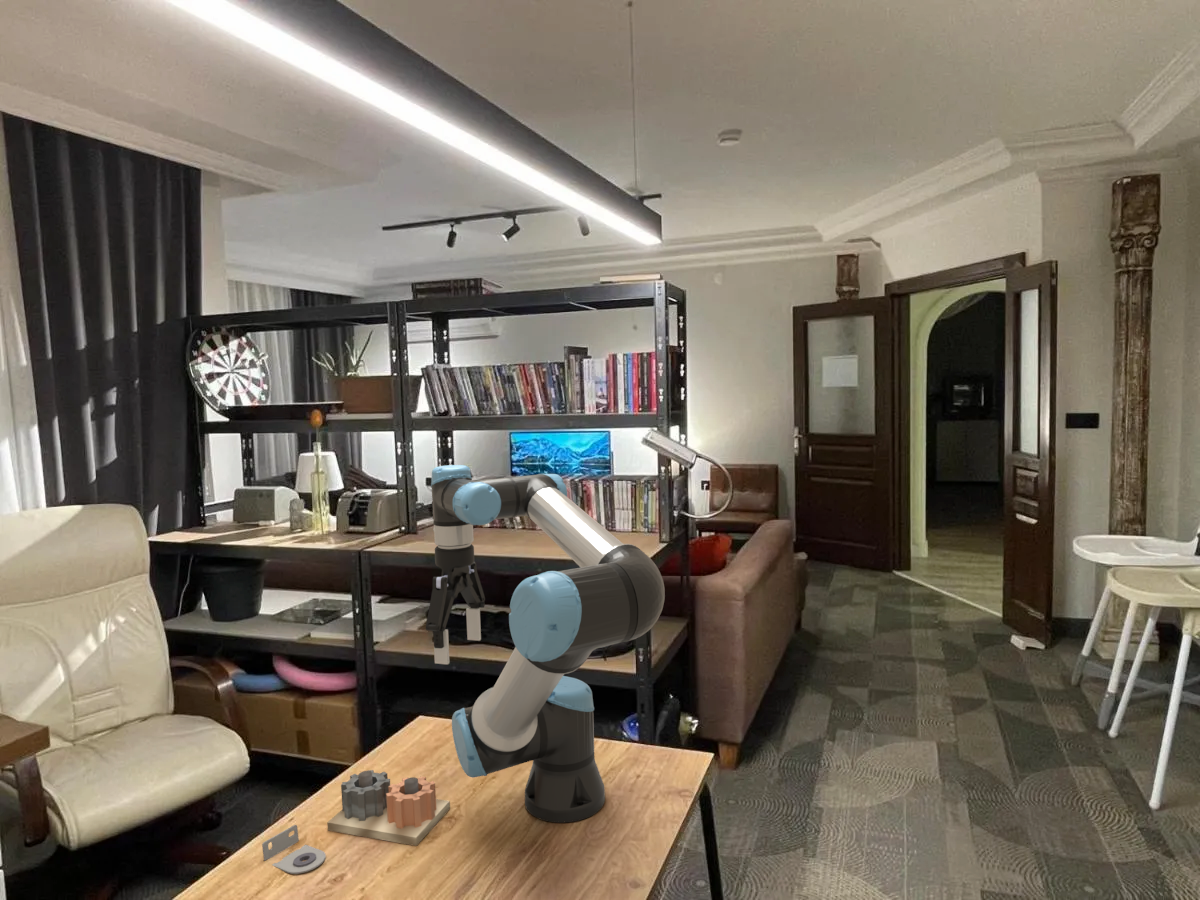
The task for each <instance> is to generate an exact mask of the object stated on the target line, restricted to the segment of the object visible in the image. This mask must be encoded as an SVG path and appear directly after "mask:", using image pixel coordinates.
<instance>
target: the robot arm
mask: <svg viewBox="0 0 1200 900" xmlns="http://www.w3.org/2000/svg"><path fill="white" fill-rule="evenodd" d="M430 488H431V497H432V498H431V501H432V519H433V528H432V532H433V534H434V538H433V539H434V544H435V546H436V547H435V548H434V563H435V565H436V566H437V567H438V568H440V569H441V576H433V578H432V590H431V596H430V601H429V607H428V612H427V618H426V624H425V630H426V631H431V632H432V634H433V650H434V652H433V654H434V655H433V656H434V657H433V658H434V664H435V665H436V664H439V665H449V664H450V663H451V662H450V645H449V644H450V643H449V640H450V639H449V629H448V628H447V629H446V627H447V624H448V621H449V618H450V613H451V610H452V607H453V605H454V601H455V599H457V597H458V595H459V593H460V594H461V596H462V598H463V599H464V601H465V602H466V604H467V606H468V607H467V608H465V609H466V610H465V614H466V617H465V618H466V635H467V638H466V639H467V641H478V642H480V641H481V640H482V633H481V632H482V629H481V627H482V626H481V608H485V606H486V604H485V601H486V597H485V593H484V589H483V586H482V583H481V580H480V577H479V574H478V568H477V562H476V561H475V547H474V545H473V544H472V543H473V542H474V541H475V539H474V526H484V525H485V526H486V525H488V524H490V523H491V522H493V521H494V520H502V519H511V518H518V517H528V518H529V519H530V520H531V521H532V522H533V523H534V524H535V525H536V526H537V527H538V528H540V529H541V530H542V532H544V533H545V534H546V535H547V536H548V538H550V539H551V540H552V541H553V542H554V543H555V544H556V545H557V546H558V547H559V548H560V549H561V550H562V551H564V553H565V554H566V555H567V556H568V557H569V559H570V558H571V560H573V561H574V563H575V564H576V565H577V566H579V567H577V568H575V567H574V568H570V569H564V570H558V571H557V570H548V571H545V572H541V573H539V574H537V575H536V574H535V575H532V576H529V577H526V578H524V579H523V580H522V581H521V582H520V583H519V584H518V585H517V586H516V588H515V589H514V591H513V593H512V596H511V599H510V604H509V608H510V613H509V614H508V624H509V625H508V626H509V632H510V634H511V638H512V642H513V644H514V649H513V650H512V653H511V654H510V656H509V659H507V661H506V664H505V665H504V667H503V669H502V671H501V672H500V674H499V677H498V678H497V680H496V682H495V684H494V685H493V686H492V687H490V688H488V689H487V690H485V691H483V692H482V693H481V694H480V695H479V696H478V697H477V699H476V700H475V702H474V704H473V705H472V706H469V707H462V708H460V709H458V710H456V711H455V712H453V714H452V717H451V730H452V731H451V732H452V737H453V743H454V744H453V745H454V747H455V751H456V755H457V757H458V761H459V764H460V766H461V768H462V770H463V772H464V773H465V775H466V776H468V777H469V778H472V779H473V778H477V777H478V778H479V777H487V776H488V775H490V774H493V773H495V772H499V771H502V770H505V769H509V768H512V767H516V766H519V765H522V764H524V763H528V762H532V765H531V769H530V771H529V775H528V779H527V782H526V785H525V788H524V806H525V809H526V810H527V811H528V812H529V814H530V815H532V816H533V817H535V818H536V819H538V820H539V819H540V820H542V821H545V822H551V823H563V824H564V823H573V822H578V821H582V820H584V819H587V818H590V817H591V816H593V815H596V814H597V813H598V812H600V810H601V809H602V808H603V806H604V804H605V802H606V795H605V794H606V788H605V783H604V782H603V779H602V774H600V770H599V767H598V765H597V763H596V759H595V731H594V730H595V729H594V728H595V723H594V721H595V720H594V719H595V718H594V711H595V706H594V699H593V691H592V689H591V687H590V685H588V684H587V683H586V682H584V681H583V680H581V679H578V678H576V677H571V676H565V675H566V674H570V673H573V672H575V671H577V670H578V669H579V668H580V667H581V666H583V665H584V663H586V661H587V660H588V658H589V657H590V655H591V654H592V652H593V651H595V650H596V649H601V648H604V647H608V646H613V645H616V644H620V643H625V642H629V641H630V642H631V641H633V640H636V639H637V638H640V637H642V636H643V635H645V634H646V633H647V632H649V631H650V630H651V629H652V628H653V627H654V625H655V624H656V623H657V621H658V620H659V617H660V615H661V614H662V611H663V608H664V603H665V597H666V595H665V591H666V590H665V584H664V578H663V577H662V574H661V572H660V570H659V568H658V566H657V564H655V562H654V561H653V560H652V559H651V557H649V556H648V554H647V553H645V552H644V551H643V550H642V549H640V548H639V547H637V546H636V545H634V544H631V543H623V542H622V541H621V540H620V539H618V538H617V537H616V536H615V535H613V534H612V533H611V532H610V531H609V530H607V528H605V527H604V526H603V525H601V523H600V522H598V521H596V520H595V519H594V518H593V517H592V516H591V515H589V514H588V513H587V512H586V511H584V509H582V508H581V507H580V506H579V505H577V504H576V503H575V502H574V501H573V500H572V499H570V498H569V497H568V488H567V485H566V483H564V478H562V477H561V475H559V474H556V473H538V474H532V475H531V474H529V475H523V476H513V477H511V476H509V477H501V478H498V477H497V478H490V479H487V478H486V479H479V480H478V479H477V480H473V478H472V474H471V469H470V467H469V466H467V465H462V464H449V465H447V464H446V465H440V466H436V467H434V468H433V469H432V471H431V483H430Z"/></svg>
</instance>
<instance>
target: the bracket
mask: <svg viewBox="0 0 1200 900" xmlns="http://www.w3.org/2000/svg"><path fill="white" fill-rule="evenodd" d="M292 832H293V834H292V835H290V833H292ZM289 835H290V836H289ZM299 841H300V839H299V831H298V825H297V824H294V825H292V826H290V827H288V828H287V829H285V830H283V831H281V832H279V833H277V834H276V835H274V836H272V837H270V838H268V839H267V840H265V841H263V842H262V844H261V846H262V855H263V856H262V857H263V861H267V860H270V859H271V858H273V857H275V856H276V855H278V854H280V853H281V852H283V851H285V850H287V849H289V848H290V847H292V846H294V845H295V844H296V843H298V842H299ZM270 843H271V847H270V849H269V844H270ZM326 858H327V855H326V853H325V851H324V850H321V849H319V848H315V847H313V846H310V845H308V844H304V845H303V846H301V847H300V848H297V849H296V850H294V851H292V852H291V853H289V854H288V855H286V856H284V857H282V859H281V860H279V861H278V862H274V863H272V864H271V866H272V867H275V868H277V869H279V870H280V871H282V872H285V873H288V874H290V875H291V874H292V875H298V874H303V873H307V872H309V871H312V870H314V869H316V868H318V867H320V866H321V865H322V864H323V863H324V862H325V860H326Z"/></svg>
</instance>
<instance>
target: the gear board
mask: <svg viewBox="0 0 1200 900" xmlns="http://www.w3.org/2000/svg"><path fill="white" fill-rule="evenodd" d="M390 785H391V778H388V773H387V772H386V771H382V772H374V769H370V770H364V771H360V772H359V773H358V774H357V773H353V774H350V775H349V780H348V781H343V782H341V784H340V787H341V789H340V790H341V791H340V792H341V806H342V807H341V808H342V809H341V810H340V811H338V813H336V814H335V815H334V816H333V817H332V818H331V819H329V820H328V821H327V824H326V826H327V831H330V832H334V833H340V834H341V833H342V834H345V835H346V834H347V835H352V836H356V837H358V836H359V837H364V838H369V839H373V840H375V839H376V840H382V841H387V842H392V843H398V844H404V845H409V846H414V847H416V846H418V845H419V844H420V843H421V841H422V840H423V839H425V837H426V836H427V835H428V834H429V832H431V830H432V829H434V827H435V826H436V825H437V824H438V823H439V821H440V820H441V819H442V818H443V817H444V816H445V815H446V814H447V813H448V811H450V809H451V803H450V802H451V801H450V800H448V799H447V800H445V799H439V798H436V810H435V817H434V818H433V819H432V820H429V819H427V820H425V821H424V822H422V823H421V826H419V827H416V828H415V826H414V825H411V826H404V827H403V828H402V829H401V828H397V826H396V823H395V822H392V823H389V822H388V819H387V800H386V793H389V788H388V787H389V786H390ZM404 785H405V795H408V794H415V793H417V792H419V790H418V777H415V776H414V777H413V776H412V777H408V779H406V780H405V781H404Z"/></svg>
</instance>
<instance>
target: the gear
mask: <svg viewBox="0 0 1200 900" xmlns="http://www.w3.org/2000/svg"><path fill="white" fill-rule="evenodd" d="M408 778H409V777H403V778H402V780H401V781H400V782H398V783H396V784H395V783H390V786H389V787H388V788H389V793H386V800H387V819H388V822H389V823H392V822H395V823H396V826H397V828H401V829H402V828H403V827H404V826H411V825H414V826H415V828H416V827H419V826H421V823H422V822H424V821H425V820H427V819H429V820H432V819H433V818H434V817H435V810H436V799H437V796H436V795H437V794H436V782H435V781H434V780H432V781H428V780H427V777H426V776H421V775H420V776H419V777H417V779H418V790H419V792H417V793H415V794H408V795H405V785H404V781H405V780H406V779H408Z"/></svg>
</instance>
